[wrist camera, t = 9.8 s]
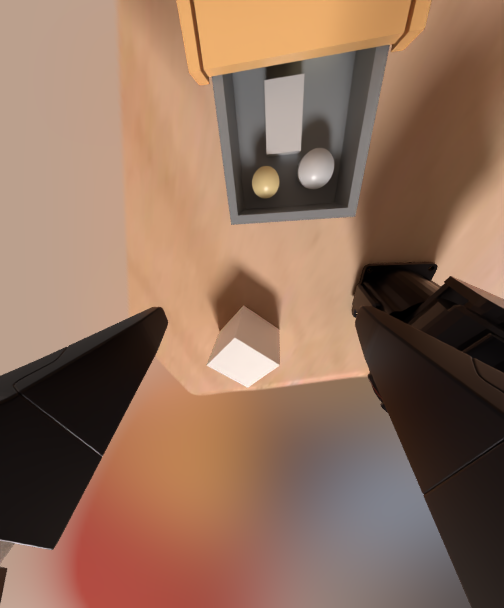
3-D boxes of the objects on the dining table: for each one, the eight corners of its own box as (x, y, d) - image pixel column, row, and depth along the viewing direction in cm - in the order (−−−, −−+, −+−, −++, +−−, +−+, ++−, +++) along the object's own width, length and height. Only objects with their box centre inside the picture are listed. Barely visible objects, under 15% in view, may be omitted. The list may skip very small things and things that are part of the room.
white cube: (279, 328, 25) (280, 365, 20) (252, 351, 28) (247, 387, 23) (243, 304, 24) (234, 337, 19) (219, 331, 27) (206, 365, 22)
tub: (382, -71, 10) (441, -212, 6) (339, 208, 17) (355, 216, 13) (214, -28, 11) (185, -125, 7) (240, 216, 18) (231, 224, 14)
